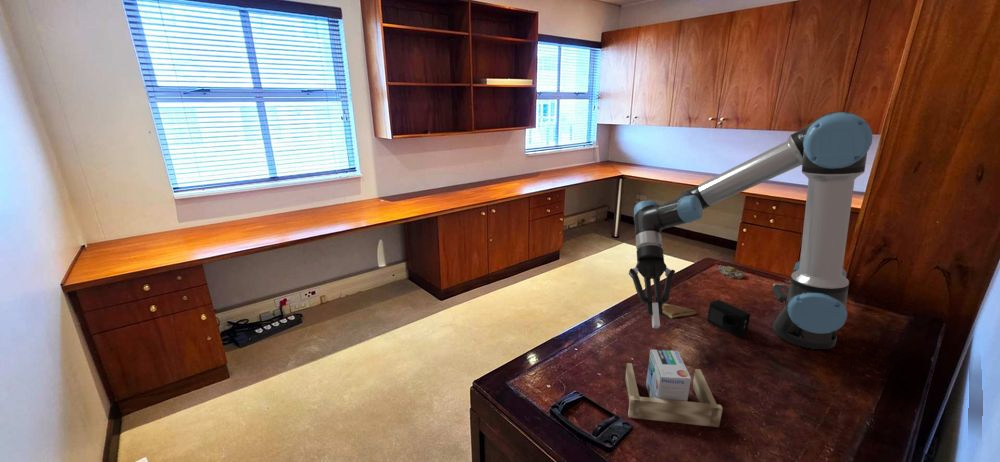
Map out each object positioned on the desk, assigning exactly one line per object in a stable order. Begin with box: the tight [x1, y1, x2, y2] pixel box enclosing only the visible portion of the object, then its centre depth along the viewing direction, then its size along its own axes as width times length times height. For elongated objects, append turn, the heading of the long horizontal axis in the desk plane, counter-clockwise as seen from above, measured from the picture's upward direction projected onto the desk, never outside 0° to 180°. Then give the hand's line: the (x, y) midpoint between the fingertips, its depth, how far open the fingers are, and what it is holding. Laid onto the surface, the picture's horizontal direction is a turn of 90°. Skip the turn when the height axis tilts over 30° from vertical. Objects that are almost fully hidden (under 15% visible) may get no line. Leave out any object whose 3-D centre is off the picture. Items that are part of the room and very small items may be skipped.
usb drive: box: [771, 283, 790, 302], centre depth 145 cm, size 5×12×3 cm, turn 159°
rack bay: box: [624, 362, 723, 428], centre depth 95 cm, size 19×13×5 cm
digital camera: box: [706, 299, 751, 338], centre depth 124 cm, size 10×5×7 cm, turn 28°
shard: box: [662, 303, 699, 319], centre depth 133 cm, size 11×8×2 cm
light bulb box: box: [645, 349, 692, 401], centre depth 94 cm, size 11×7×11 cm, turn 173°
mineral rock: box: [717, 264, 745, 280], centre depth 162 cm, size 11×4×8 cm
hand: (656, 326), depth 111 cm, fingers closed
